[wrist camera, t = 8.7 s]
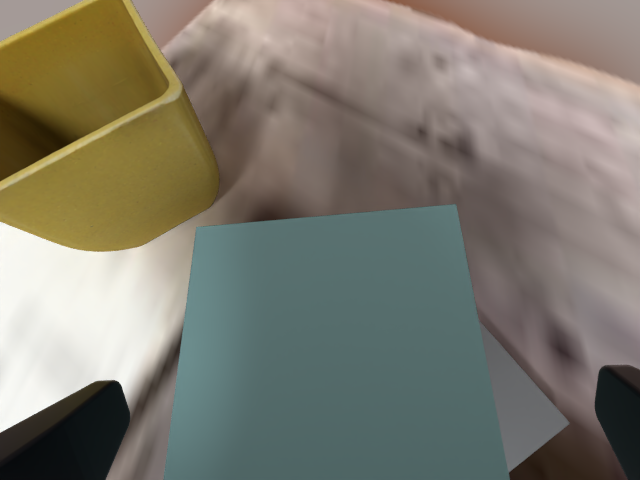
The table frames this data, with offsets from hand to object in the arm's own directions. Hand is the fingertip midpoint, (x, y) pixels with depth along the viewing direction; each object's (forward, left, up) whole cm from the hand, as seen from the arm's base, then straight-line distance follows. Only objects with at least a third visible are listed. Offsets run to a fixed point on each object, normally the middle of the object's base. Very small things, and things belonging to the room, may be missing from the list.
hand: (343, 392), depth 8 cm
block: (+1, 0, -10) cm, 10 cm away
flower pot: (+16, +3, -11) cm, 20 cm away
